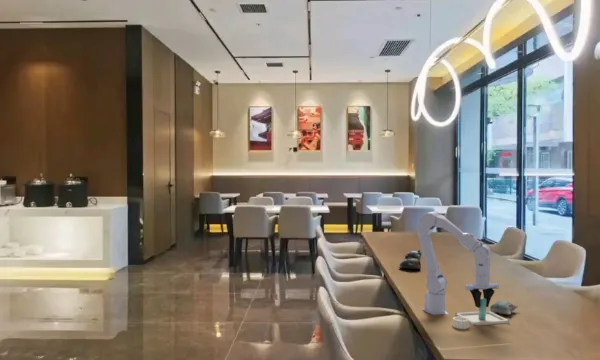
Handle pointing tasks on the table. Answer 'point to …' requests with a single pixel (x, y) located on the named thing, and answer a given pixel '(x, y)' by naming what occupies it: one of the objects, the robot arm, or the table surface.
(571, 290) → the table surface
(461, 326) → the bowl
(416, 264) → the grey stacked sacks
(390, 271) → the table surface
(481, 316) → the dowel
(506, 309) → the packaged food
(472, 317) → the tray
